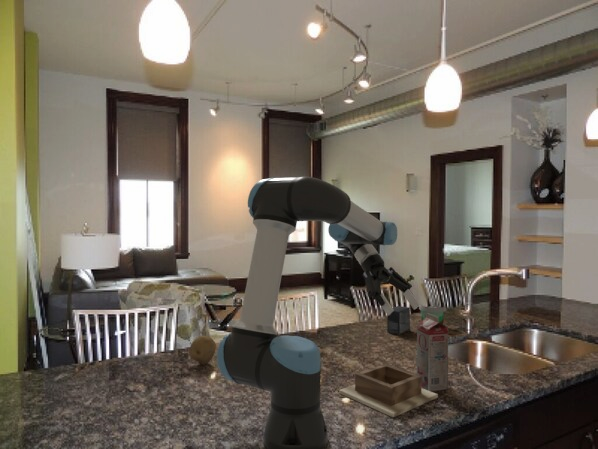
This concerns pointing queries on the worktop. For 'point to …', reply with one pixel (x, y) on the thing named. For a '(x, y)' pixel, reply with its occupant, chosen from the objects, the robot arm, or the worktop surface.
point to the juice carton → (432, 353)
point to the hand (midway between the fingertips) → (404, 310)
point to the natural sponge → (202, 349)
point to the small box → (398, 320)
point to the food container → (433, 312)
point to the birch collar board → (388, 390)
